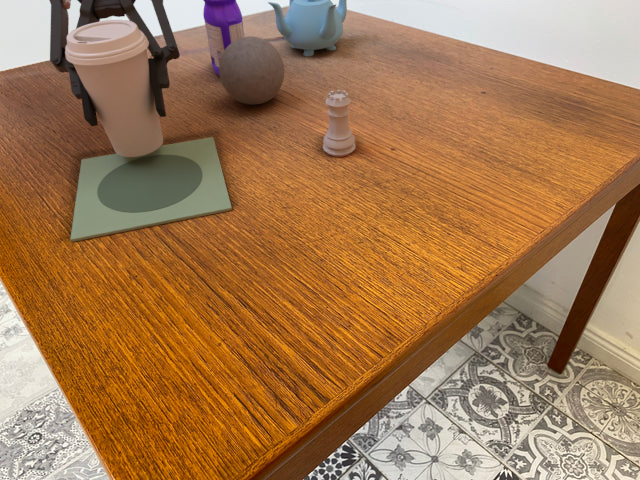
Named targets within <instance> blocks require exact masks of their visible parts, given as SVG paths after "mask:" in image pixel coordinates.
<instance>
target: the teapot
mask: <svg viewBox="0 0 640 480" xmlns="http://www.w3.org/2000/svg"><path fill="white" fill-rule="evenodd" d="M267 4H269V5H270V6H271V7H272V8H273V10H274V14H275V25H276V29H277V31H278V33H280V34H281V35H282V37H283V38H284V40H285V41H286V43H288V44H289V45H290V46H291V47H290V48H292V49H298V50H303V56H305V57H311V56H314V55H315V50H316V51H317V50H323V49H325V50H326V51H335V50H337V47H336V44H337V43H338V41H339V40H340V39H341V38H342V36H343V33H344V26H343V23H344V22H345V20H346V17H347V14H348V12H347V11H348V10H347V9H348V6H347V5H348V3H347V0H338V4H334V3H333V2H332V1H331V0H289V3H288V5H289V6H288V10H287V12H286V13H285V15H284V13H283V9H282V7H281V5H280V4H279V3H277V2H271V1H268V2H267ZM336 6H337V7H336ZM284 16H285V17H284Z"/></svg>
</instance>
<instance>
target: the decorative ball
mask: <svg viewBox="0 0 640 480" xmlns="http://www.w3.org/2000/svg"><path fill="white" fill-rule="evenodd" d="M219 75H220V76H219ZM219 75H218V76H219V79H220V83H221V84H222V87H223V88H224V90H225V91H226V92H227V94H228V95H229V96H230V97H231V98H233V99H234V100H235V101H237V102H240V103H242V104H245V105H251V106H253V105H262V104H264V103H267V102H269V101H270V100H271V99H273V98H274V97H275V96H276V95H277V94H278V93H279V91H280V90H281V88H282V86H283V83H284V79H285V64H284V61H283V58H282V56H281V53H280V52H279V51H278V50H277V48H276V46H274V45H273V44H272V43H271V42H269V41H267V40H266V39H264V38H261V37H258V36H244V37H243V38H239V39H237V40H235V41H233V42H232V43H231V44H230V45H229V46H228V47H227V48H226V49H225V50H224V52H223V54H222V56H221V59H220V63H219Z"/></svg>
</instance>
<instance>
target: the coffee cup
mask: <svg viewBox="0 0 640 480" xmlns="http://www.w3.org/2000/svg"><path fill="white" fill-rule="evenodd" d="M148 45H149V41H148V39H147V38H146V36H145V35H144V33H143V32H142V31H140V30H139V28H138V27H137V25H136V24H135V23H134V22H131V21H129V20H126V19H107V20H100V21H99V22H95V23H91V24H87V25H84V26H81V27H79V28H77V29H76V28H74V29H72V30H71V31H70V32H68V35H67V45H66V47H65V55H66V59H67V61H69V62H71V63H73V65H74V67H75V69H76V71H77V73H78V75H79V77H80V79H81V81H82V83H83V85H84V87H85V89H86V90H87V92H88V94H89V97H90V99H91V101H92V104H93V106H94V108H95V110H96V116H97V118H98V119H99V121H100V123H101V125H102V127H103V130H104V132H105V133H106V135H107V137H108V140H109V142H110V144H111V146H112V148H113V150H114V152H115V154H116V153H117V154H118V155H120V156H124V157H138V156H143V155H146V154H149V153H151V152H153V151H155V150H157V149H158V148H159V147H160V146H163V145H164V136H163V130H162V125H161V121H160V120H161V119H160V116H159V114H158V112H157V110H156V106H155V100H154V94H153V88H152V82H151V75H150V69H149V63H148V59H149V57H148V51H147V50H148V48H147V47H148Z"/></svg>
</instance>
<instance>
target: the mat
mask: <svg viewBox="0 0 640 480" xmlns="http://www.w3.org/2000/svg"><path fill="white" fill-rule="evenodd" d="M230 211H231V212H232V211H233V208H232V204H231V199H230V196H229V192H228V188H227V184H226V181H225V177H224V171H223V168H222V165H221V162H220V158H219V154H218V150H217V145H216V142H215V138H214V136H210V137H204V138H199V139H198V138H197V139H193V140H185V141H181V142H175V143H169V144H162V145H161V146H160V147H159V148H158V149H157V150H155V151H153V152H151V153H149V154H146V155H143V156H138V157H124V156H120V155H118V154H117V153H116V152H115V153H111V154H105V155H100V156H92V157H88V158H82V159H81V160H80V168H79V176H78V182H77V187H76V197H75V203H74V210H73V218H72V224H71V231H70V238H69V240H70V242H71V243H74V242H75V243H76V242H80V241H85V240H90V239H95V238H100V237H105V236H111V235H115V234H119V233H125V232H131V231H135V230H140V229H144V228H145V229H146V228H149V227H155V226H160V225H165V224H170V223H175V222H180V221H185V220H189V219H190V220H191V219H195V218H201V217H206V216H210V215H215V214H221V213H226V212H230Z"/></svg>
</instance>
